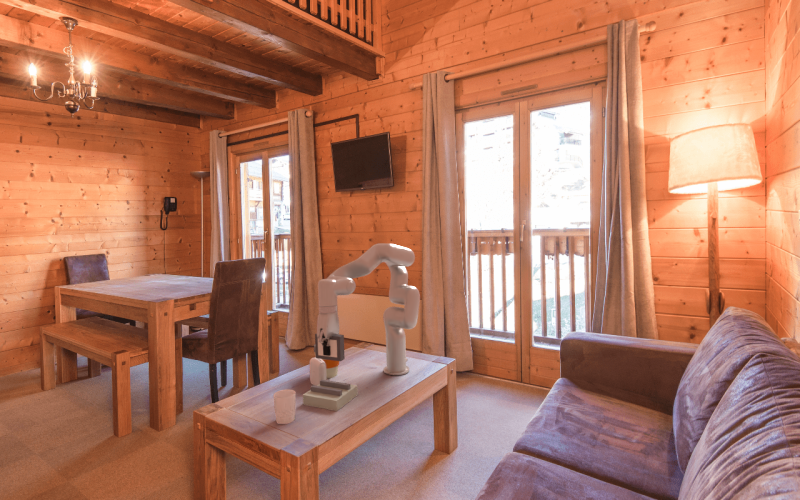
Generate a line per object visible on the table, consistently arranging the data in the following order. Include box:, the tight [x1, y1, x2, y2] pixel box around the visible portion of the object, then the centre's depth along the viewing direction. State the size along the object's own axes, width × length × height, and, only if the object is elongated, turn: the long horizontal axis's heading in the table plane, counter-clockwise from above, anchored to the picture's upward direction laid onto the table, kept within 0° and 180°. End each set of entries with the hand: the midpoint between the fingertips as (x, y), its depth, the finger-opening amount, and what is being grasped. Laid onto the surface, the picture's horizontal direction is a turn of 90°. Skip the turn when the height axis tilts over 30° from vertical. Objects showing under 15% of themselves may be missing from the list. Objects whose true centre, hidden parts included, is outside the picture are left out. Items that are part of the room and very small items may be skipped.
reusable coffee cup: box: [313, 344, 340, 379], centre depth 192 cm, size 13×13×15 cm
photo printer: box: [309, 356, 328, 386], centre depth 180 cm, size 10×4×12 cm, turn 39°
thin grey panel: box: [314, 333, 346, 362], centre depth 163 cm, size 3×12×10 cm, turn 66°
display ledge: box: [302, 379, 359, 412], centre depth 164 cm, size 16×16×6 cm
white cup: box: [273, 389, 297, 425], centre depth 147 cm, size 8×8×10 cm
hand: (329, 353), depth 163 cm, fingers closed on thin grey panel, 3 cm apart
